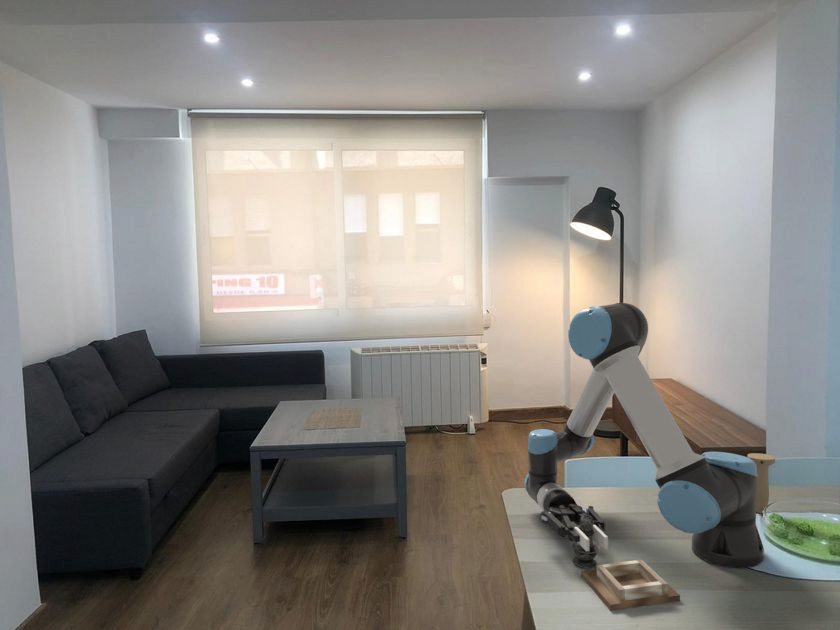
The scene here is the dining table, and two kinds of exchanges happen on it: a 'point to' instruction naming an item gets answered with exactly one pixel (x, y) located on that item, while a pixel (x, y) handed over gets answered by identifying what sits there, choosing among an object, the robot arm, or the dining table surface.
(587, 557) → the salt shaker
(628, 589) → the caddy
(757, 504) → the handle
